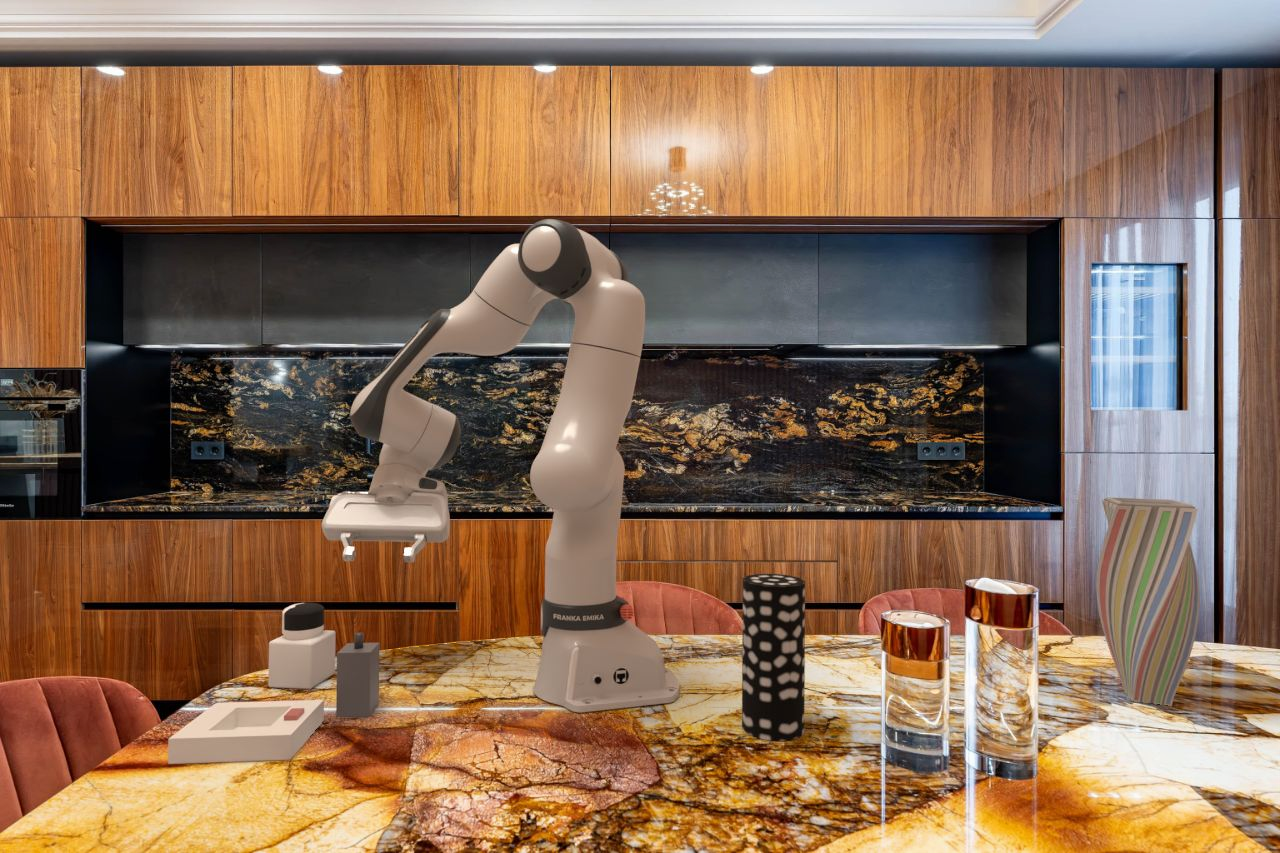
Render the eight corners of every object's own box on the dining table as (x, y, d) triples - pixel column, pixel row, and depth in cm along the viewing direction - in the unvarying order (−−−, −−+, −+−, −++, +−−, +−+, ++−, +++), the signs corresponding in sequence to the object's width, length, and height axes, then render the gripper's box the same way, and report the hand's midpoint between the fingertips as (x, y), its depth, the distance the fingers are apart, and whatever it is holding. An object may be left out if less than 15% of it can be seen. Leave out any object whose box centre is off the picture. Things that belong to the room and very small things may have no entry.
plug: (378, 704, 101) (379, 628, 101) (369, 717, 96) (370, 637, 96) (346, 705, 100) (347, 629, 100) (336, 718, 96) (337, 638, 96)
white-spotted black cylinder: (809, 721, 96) (810, 577, 96) (797, 746, 88) (797, 589, 88) (751, 711, 99) (752, 571, 99) (734, 733, 92) (735, 582, 92)
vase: (1105, 707, 101) (1105, 503, 102) (1085, 677, 114) (1085, 495, 114) (1219, 722, 96) (1219, 507, 97) (1185, 689, 109) (1185, 499, 109)
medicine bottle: (336, 673, 113) (336, 600, 113) (311, 689, 106) (311, 611, 106) (294, 671, 114) (295, 599, 114) (267, 687, 107) (268, 610, 107)
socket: (323, 721, 94) (323, 695, 95) (290, 759, 84) (290, 729, 84) (216, 725, 93) (216, 698, 93) (168, 764, 82) (168, 733, 82)
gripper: (330, 479, 117) (305, 547, 107) (453, 482, 119) (440, 549, 109) (338, 502, 122) (315, 569, 112) (456, 505, 124) (444, 571, 114)
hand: (378, 559), depth 111 cm, fingers open, 8 cm apart
